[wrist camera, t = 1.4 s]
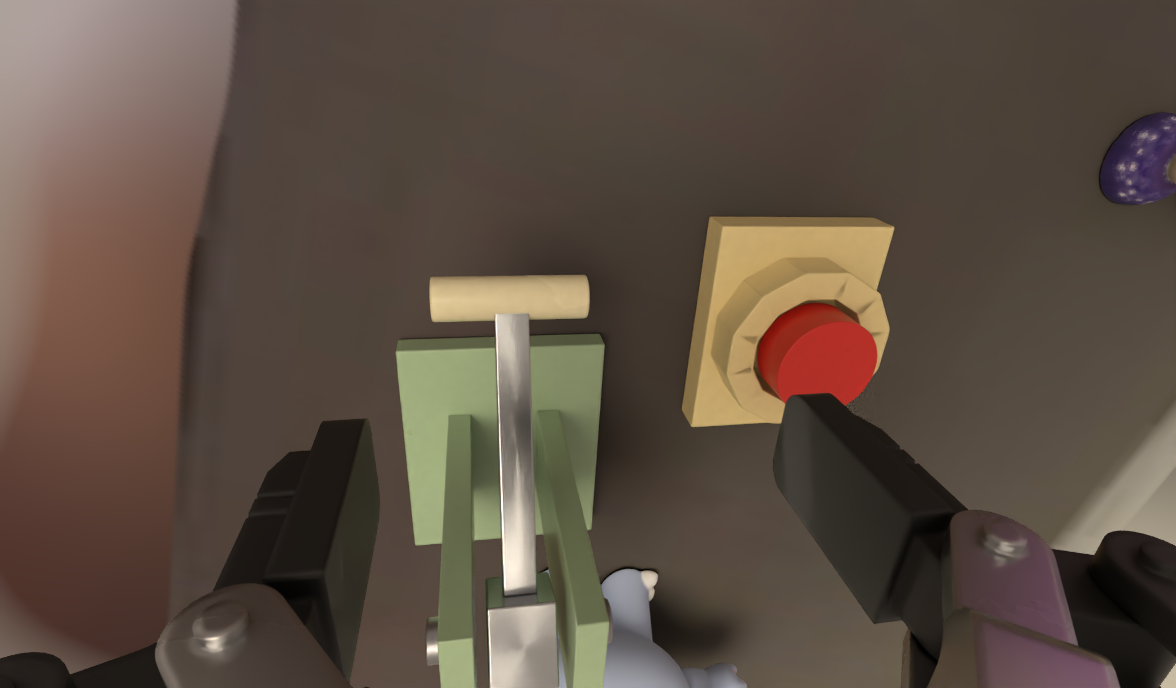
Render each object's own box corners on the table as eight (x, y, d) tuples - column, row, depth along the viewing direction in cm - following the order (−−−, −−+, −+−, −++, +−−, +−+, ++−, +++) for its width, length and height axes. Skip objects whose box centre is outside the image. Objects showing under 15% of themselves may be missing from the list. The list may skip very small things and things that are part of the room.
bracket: (398, 338, 26) (347, 564, 15) (600, 332, 28) (688, 532, 17) (416, 529, 31) (388, 805, 20) (587, 514, 33) (650, 763, 22)
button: (767, 303, 25) (789, 323, 23) (862, 301, 26) (890, 320, 24) (749, 393, 27) (767, 418, 25) (838, 389, 28) (862, 412, 26)
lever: (433, 279, 20) (427, 273, 18) (579, 277, 21) (592, 271, 19) (446, 661, 21) (442, 704, 18) (589, 643, 22) (603, 682, 19)
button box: (708, 215, 26) (742, 241, 23) (873, 217, 28) (925, 240, 25) (681, 409, 31) (705, 452, 28) (824, 401, 32) (863, 441, 29)
